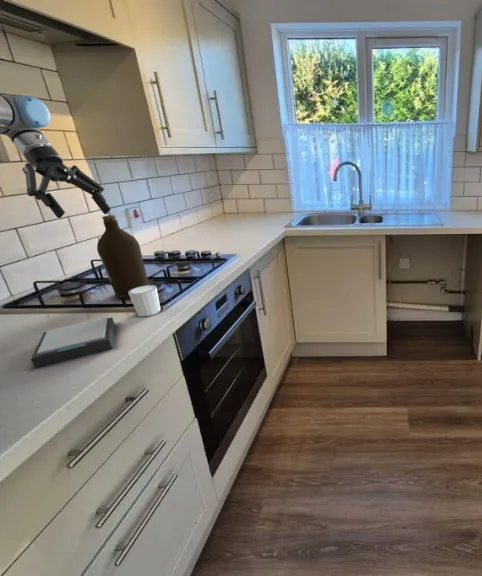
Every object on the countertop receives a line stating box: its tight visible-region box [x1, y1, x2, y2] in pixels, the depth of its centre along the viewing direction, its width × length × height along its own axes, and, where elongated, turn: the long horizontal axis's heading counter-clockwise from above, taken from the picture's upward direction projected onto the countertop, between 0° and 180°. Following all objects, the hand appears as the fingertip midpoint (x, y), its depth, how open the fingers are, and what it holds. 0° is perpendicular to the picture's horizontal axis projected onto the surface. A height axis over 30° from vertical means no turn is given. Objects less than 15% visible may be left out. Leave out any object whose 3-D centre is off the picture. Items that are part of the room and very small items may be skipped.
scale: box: [30, 316, 116, 369], centre depth 87 cm, size 14×14×3 cm
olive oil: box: [96, 214, 150, 300], centre depth 112 cm, size 11×11×25 cm
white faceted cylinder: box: [128, 284, 161, 317], centre depth 102 cm, size 7×7×7 cm
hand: (86, 213), depth 108 cm, fingers open, 13 cm apart
